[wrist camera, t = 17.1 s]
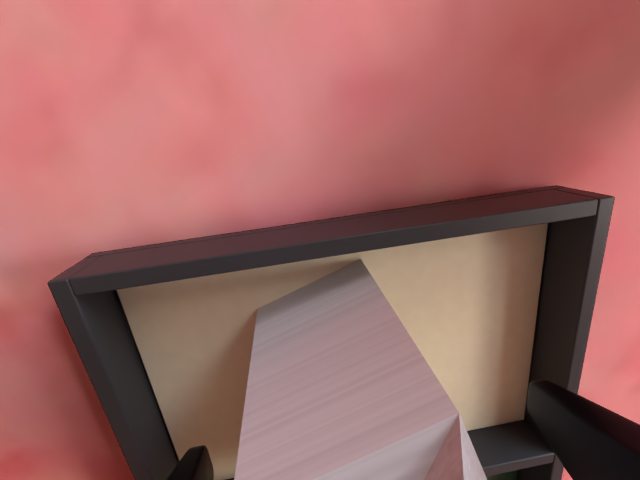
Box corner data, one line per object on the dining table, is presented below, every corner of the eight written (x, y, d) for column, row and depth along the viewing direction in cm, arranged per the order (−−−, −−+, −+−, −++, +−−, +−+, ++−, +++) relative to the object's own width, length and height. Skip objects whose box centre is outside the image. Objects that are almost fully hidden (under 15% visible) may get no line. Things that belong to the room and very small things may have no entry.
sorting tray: (509, 552, 17) (538, 604, 15) (230, 617, 16) (224, 681, 14) (556, 185, 11) (616, 195, 9) (91, 253, 10) (45, 282, 8)
